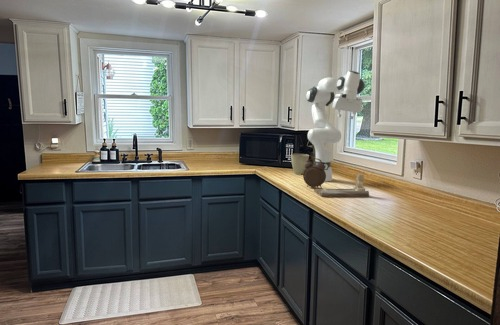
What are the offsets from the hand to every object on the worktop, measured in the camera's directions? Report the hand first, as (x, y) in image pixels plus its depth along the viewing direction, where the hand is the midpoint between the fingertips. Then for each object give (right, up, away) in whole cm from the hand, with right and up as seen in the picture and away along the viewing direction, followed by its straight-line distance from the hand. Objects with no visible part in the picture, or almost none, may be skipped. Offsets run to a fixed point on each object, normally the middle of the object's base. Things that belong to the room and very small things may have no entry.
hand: (345, 118), depth 228 cm
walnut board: (-5, -49, -9) cm, 50 cm away
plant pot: (-21, -39, +62) cm, 76 cm away
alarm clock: (-19, -46, +8) cm, 50 cm away
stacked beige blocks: (+6, -47, -9) cm, 48 cm away
